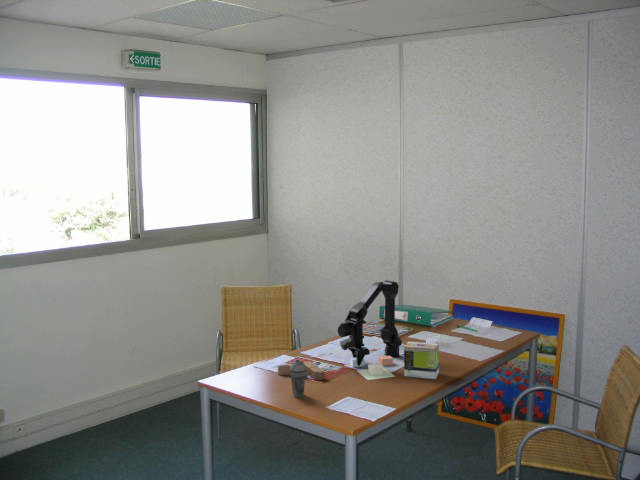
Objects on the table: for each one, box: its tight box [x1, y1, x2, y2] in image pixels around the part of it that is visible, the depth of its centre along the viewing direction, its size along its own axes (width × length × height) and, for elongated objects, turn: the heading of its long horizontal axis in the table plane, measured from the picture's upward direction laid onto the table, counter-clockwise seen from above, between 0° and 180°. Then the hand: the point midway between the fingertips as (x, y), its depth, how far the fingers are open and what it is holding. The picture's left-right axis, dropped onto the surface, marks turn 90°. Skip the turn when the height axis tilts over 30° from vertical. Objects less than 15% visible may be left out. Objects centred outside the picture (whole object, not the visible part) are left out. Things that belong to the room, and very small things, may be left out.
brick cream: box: [367, 362, 384, 375], centre depth 297 cm, size 6×4×4 cm, turn 108°
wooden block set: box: [277, 360, 326, 380], centre depth 295 cm, size 17×6×18 cm
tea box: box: [403, 341, 440, 380], centre depth 295 cm, size 15×10×15 cm
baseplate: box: [356, 366, 396, 381], centre depth 297 cm, size 14×14×1 cm
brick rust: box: [378, 355, 394, 367], centre depth 310 cm, size 6×4×4 cm, turn 108°
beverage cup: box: [290, 350, 306, 398], centre depth 270 cm, size 7×7×20 cm
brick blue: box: [349, 356, 365, 368], centre depth 309 cm, size 6×4×4 cm, turn 106°
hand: (357, 364), depth 309 cm, fingers closed on brick blue, 4 cm apart
